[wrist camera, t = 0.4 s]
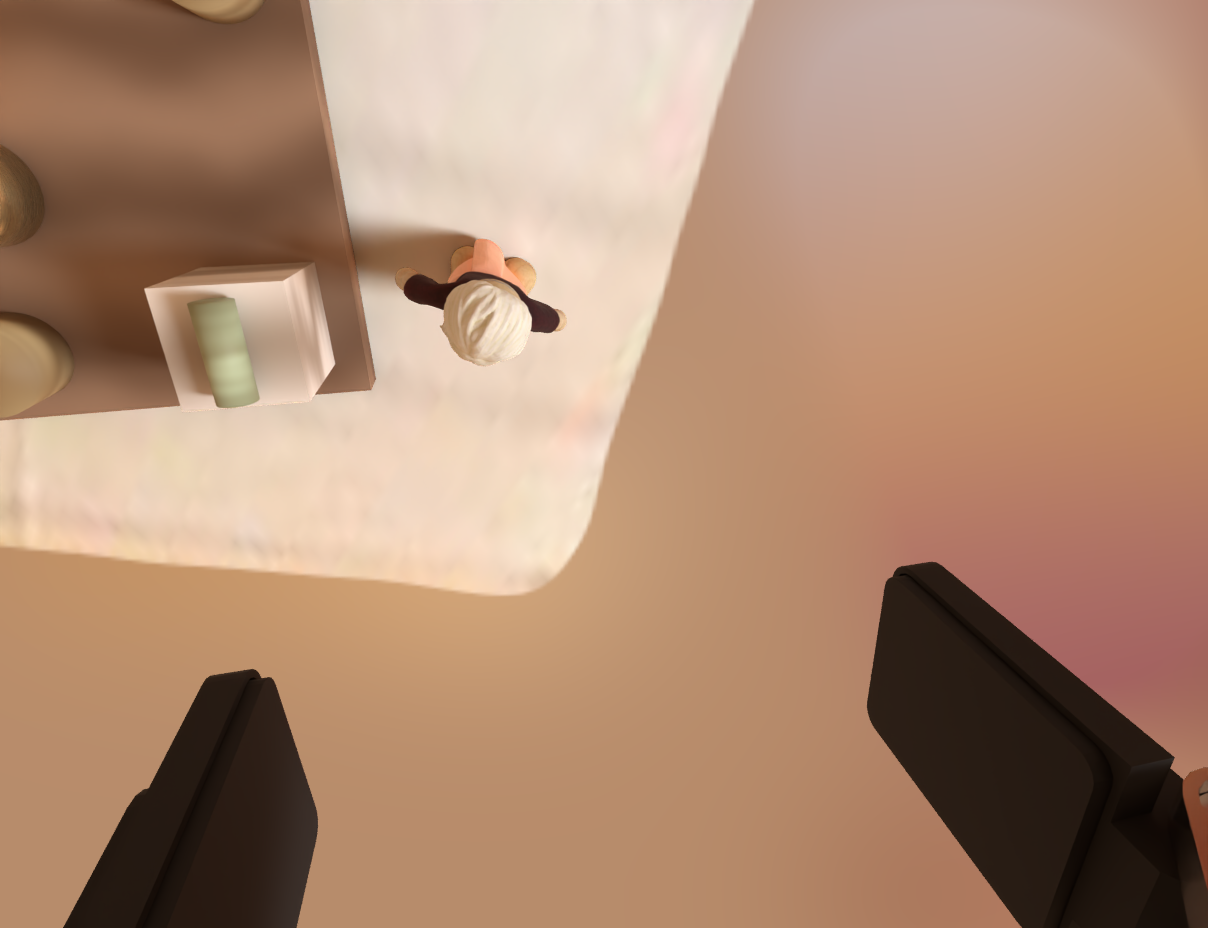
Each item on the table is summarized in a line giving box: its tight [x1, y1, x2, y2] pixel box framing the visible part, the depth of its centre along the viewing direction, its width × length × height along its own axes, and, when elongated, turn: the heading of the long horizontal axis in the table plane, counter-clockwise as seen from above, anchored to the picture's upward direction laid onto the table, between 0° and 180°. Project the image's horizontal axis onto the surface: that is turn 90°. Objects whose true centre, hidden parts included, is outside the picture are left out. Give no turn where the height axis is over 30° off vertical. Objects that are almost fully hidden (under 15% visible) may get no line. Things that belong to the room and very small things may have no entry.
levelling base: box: [0, 0, 376, 420], centre depth 26 cm, size 20×18×10 cm
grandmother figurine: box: [395, 239, 567, 366], centre depth 29 cm, size 8×4×13 cm, turn 84°
